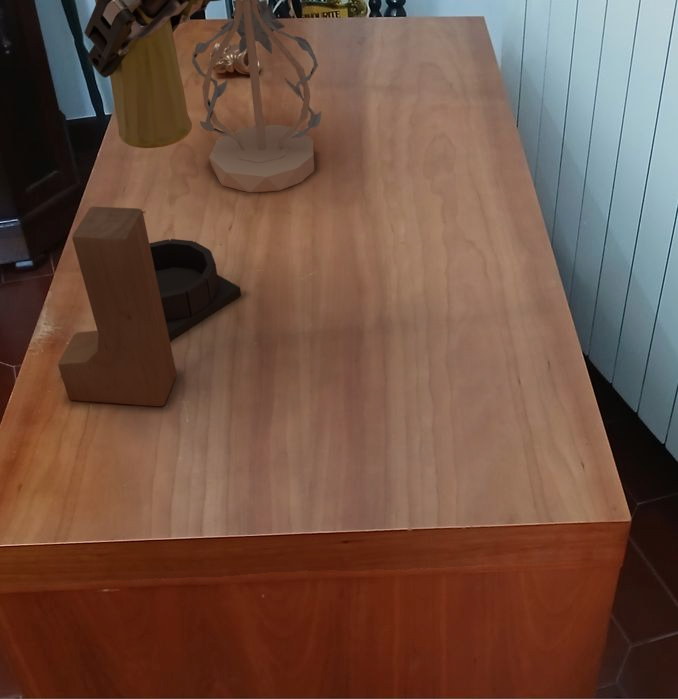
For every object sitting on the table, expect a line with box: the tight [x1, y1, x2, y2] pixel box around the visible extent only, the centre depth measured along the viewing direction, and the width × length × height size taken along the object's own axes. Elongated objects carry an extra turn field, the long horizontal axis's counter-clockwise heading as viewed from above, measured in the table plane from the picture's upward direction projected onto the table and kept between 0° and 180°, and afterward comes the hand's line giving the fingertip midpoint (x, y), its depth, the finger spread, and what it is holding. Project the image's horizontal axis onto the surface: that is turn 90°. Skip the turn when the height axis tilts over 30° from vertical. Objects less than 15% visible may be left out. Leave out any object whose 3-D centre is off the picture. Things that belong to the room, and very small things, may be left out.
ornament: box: [209, 41, 262, 75], centre depth 132 cm, size 8×7×4 cm
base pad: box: [149, 238, 242, 342], centre depth 92 cm, size 10×10×4 cm
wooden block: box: [57, 206, 177, 407], centre depth 78 cm, size 9×4×18 cm, turn 82°
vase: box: [94, 0, 193, 149], centre depth 73 cm, size 6×6×14 cm
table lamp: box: [191, 0, 322, 194], centre depth 100 cm, size 22×22×40 cm
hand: (124, 52), depth 74 cm, fingers closed on vase, 5 cm apart
